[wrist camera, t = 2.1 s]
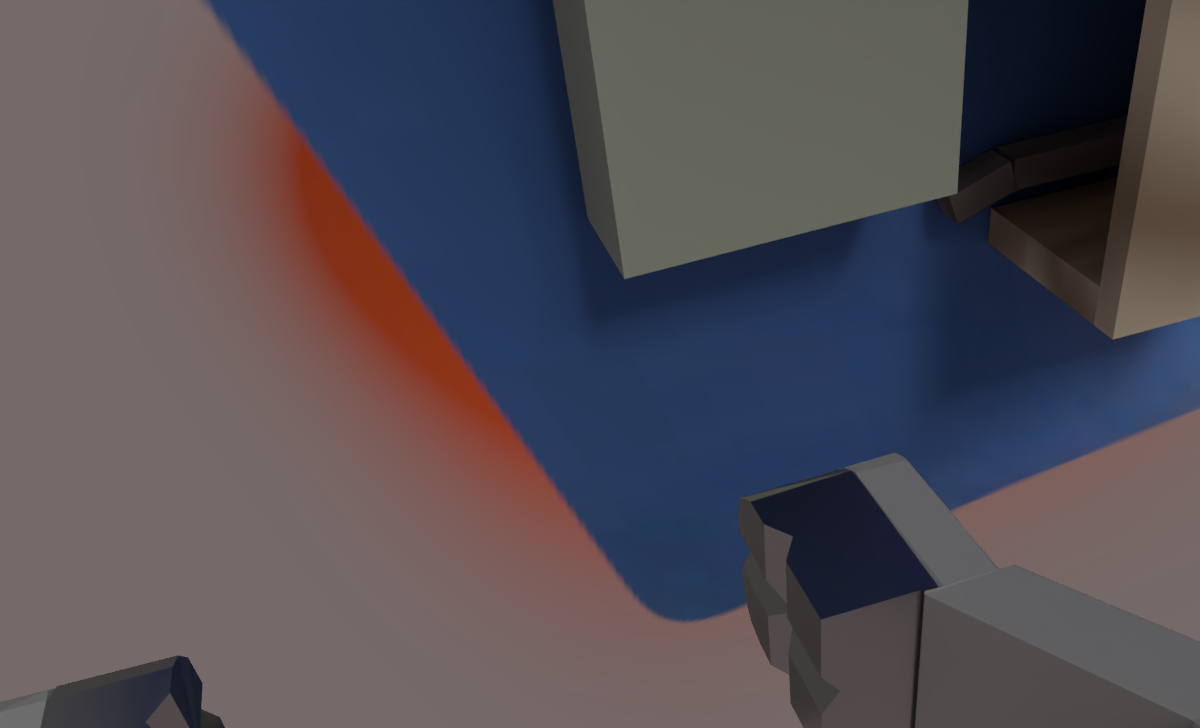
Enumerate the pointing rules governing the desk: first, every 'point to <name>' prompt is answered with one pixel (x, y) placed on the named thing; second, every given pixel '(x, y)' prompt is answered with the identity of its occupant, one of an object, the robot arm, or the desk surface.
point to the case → (757, 117)
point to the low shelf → (1111, 193)
